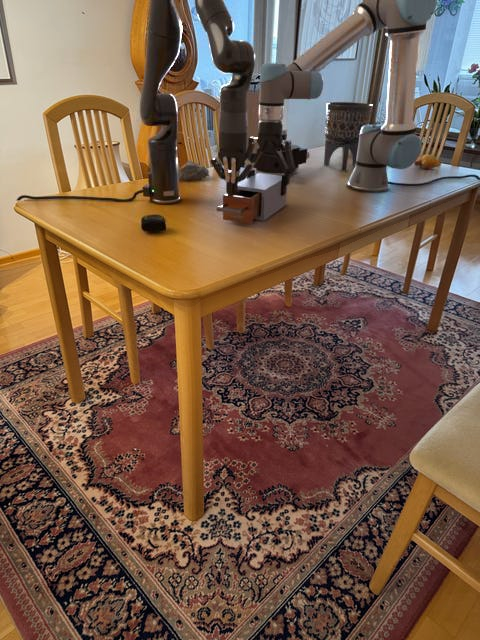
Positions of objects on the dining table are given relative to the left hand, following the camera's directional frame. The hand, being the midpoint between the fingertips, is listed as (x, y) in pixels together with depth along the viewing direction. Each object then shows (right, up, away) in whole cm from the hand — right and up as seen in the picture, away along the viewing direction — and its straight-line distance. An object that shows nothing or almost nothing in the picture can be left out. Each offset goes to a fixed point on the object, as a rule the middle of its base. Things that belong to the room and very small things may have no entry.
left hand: (231, 195), depth 128 cm
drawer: (+4, -3, +12) cm, 13 cm away
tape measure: (-22, -10, +1) cm, 24 cm away
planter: (+50, +36, +83) cm, 103 cm away
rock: (-16, +22, +56) cm, 63 cm away
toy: (+89, +37, +85) cm, 129 cm away
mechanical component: (+20, +28, +69) cm, 77 cm away
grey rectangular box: (+9, +1, +21) cm, 23 cm away
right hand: (+11, +7, +23) cm, 27 cm away
